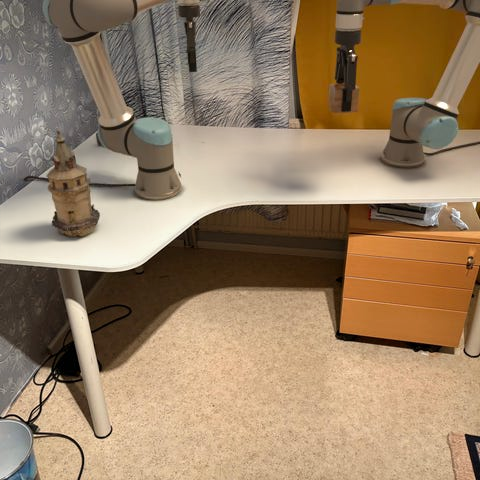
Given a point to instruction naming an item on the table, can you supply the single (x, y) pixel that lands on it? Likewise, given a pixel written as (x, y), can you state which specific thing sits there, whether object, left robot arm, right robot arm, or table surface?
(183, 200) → the table surface
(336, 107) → the block
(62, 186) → the miniature building
